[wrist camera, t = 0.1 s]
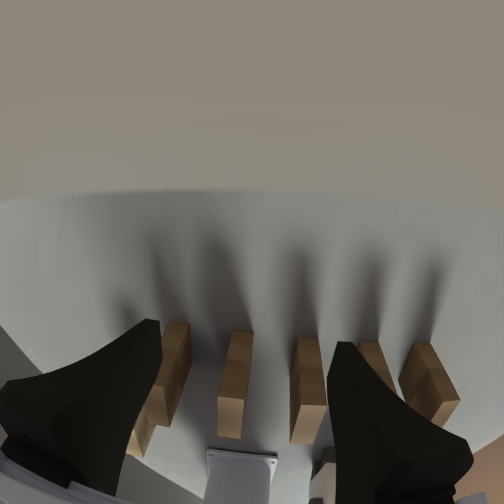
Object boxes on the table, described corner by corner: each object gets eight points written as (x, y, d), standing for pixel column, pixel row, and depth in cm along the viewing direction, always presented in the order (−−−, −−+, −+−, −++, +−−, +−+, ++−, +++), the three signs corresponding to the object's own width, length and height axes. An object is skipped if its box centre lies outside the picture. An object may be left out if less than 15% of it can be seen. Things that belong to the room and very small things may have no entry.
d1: (412, 380, 25) (434, 437, 19) (397, 380, 25) (418, 439, 19) (430, 342, 23) (460, 399, 17) (414, 342, 23) (443, 401, 17)
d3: (308, 378, 26) (312, 444, 19) (289, 377, 26) (289, 443, 19) (318, 338, 24) (327, 405, 17) (298, 336, 24) (301, 404, 18)
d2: (363, 380, 25) (378, 443, 19) (346, 380, 25) (358, 444, 19) (378, 341, 24) (400, 405, 17) (359, 340, 24) (378, 405, 17)
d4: (249, 373, 26) (240, 439, 19) (230, 371, 26) (217, 435, 19) (253, 332, 24) (244, 399, 18) (232, 329, 24) (217, 396, 18)
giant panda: (300, 466, 31) (300, 534, 23) (317, 443, 29) (321, 519, 20) (402, 469, 31) (415, 527, 23) (425, 446, 29) (443, 508, 21)
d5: (191, 365, 26) (169, 427, 20) (173, 362, 26) (148, 422, 20) (189, 324, 24) (163, 386, 18) (170, 321, 24) (139, 381, 18)
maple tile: (164, 403, 28) (143, 457, 22) (149, 399, 29) (126, 453, 22) (159, 372, 27) (133, 430, 20) (143, 368, 27) (115, 424, 20)
